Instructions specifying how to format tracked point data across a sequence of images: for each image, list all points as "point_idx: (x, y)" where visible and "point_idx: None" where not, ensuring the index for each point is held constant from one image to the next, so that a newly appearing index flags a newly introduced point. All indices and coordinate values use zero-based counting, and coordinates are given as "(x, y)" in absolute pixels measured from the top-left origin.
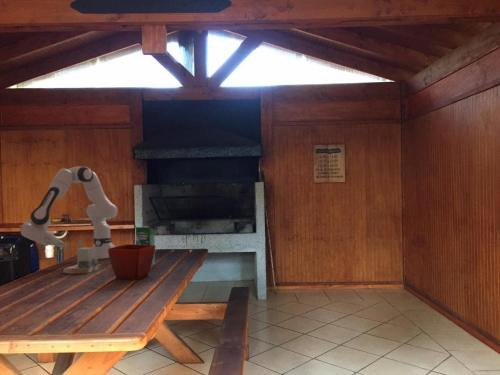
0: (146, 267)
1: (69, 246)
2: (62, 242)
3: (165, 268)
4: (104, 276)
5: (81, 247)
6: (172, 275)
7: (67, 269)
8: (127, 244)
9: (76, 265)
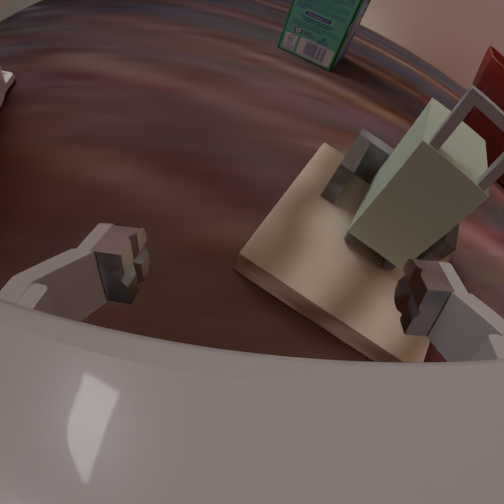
0: None
1: (142, 233)
2: (259, 361)
3: (378, 54)
4: (483, 203)
5: (439, 146)
6: (458, 92)
7: (426, 344)
8: (495, 58)
9: (316, 278)
